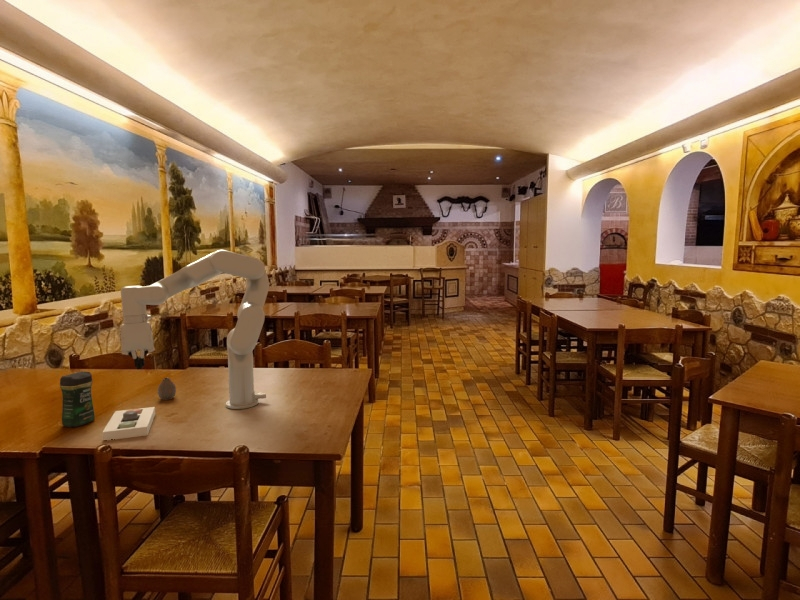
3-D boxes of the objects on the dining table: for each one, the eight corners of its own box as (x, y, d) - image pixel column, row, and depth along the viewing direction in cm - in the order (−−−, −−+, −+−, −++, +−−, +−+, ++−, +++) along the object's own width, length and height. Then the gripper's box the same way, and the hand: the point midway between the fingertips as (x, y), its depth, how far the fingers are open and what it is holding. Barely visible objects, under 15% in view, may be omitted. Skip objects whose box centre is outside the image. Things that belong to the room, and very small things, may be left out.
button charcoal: (138, 418, 167) (138, 410, 167) (136, 422, 163) (136, 414, 162) (124, 420, 165) (124, 411, 165) (122, 424, 161) (121, 415, 161)
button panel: (155, 414, 177) (154, 406, 176) (147, 435, 156) (147, 426, 156) (115, 418, 172) (115, 411, 172) (102, 441, 152) (102, 432, 151)
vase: (168, 401, 192) (167, 381, 191) (154, 400, 193) (153, 380, 193) (180, 396, 199) (179, 376, 198) (165, 395, 200) (164, 375, 199)
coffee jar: (76, 429, 162) (72, 377, 160) (57, 427, 164) (54, 375, 162) (99, 419, 171) (96, 370, 170) (82, 417, 173) (78, 369, 171)
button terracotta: (141, 415, 173) (141, 408, 173) (140, 419, 169) (139, 411, 169) (128, 417, 172) (127, 409, 172) (126, 421, 168) (125, 413, 167)
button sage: (135, 429, 160) (135, 420, 160) (133, 433, 156) (133, 424, 156) (121, 430, 159) (120, 422, 159) (118, 435, 155) (118, 426, 155)
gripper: (159, 316, 176) (163, 363, 178) (113, 320, 170) (118, 368, 172) (157, 319, 169) (161, 368, 171) (109, 322, 163) (114, 373, 165)
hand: (140, 368), depth 171 cm, fingers closed
